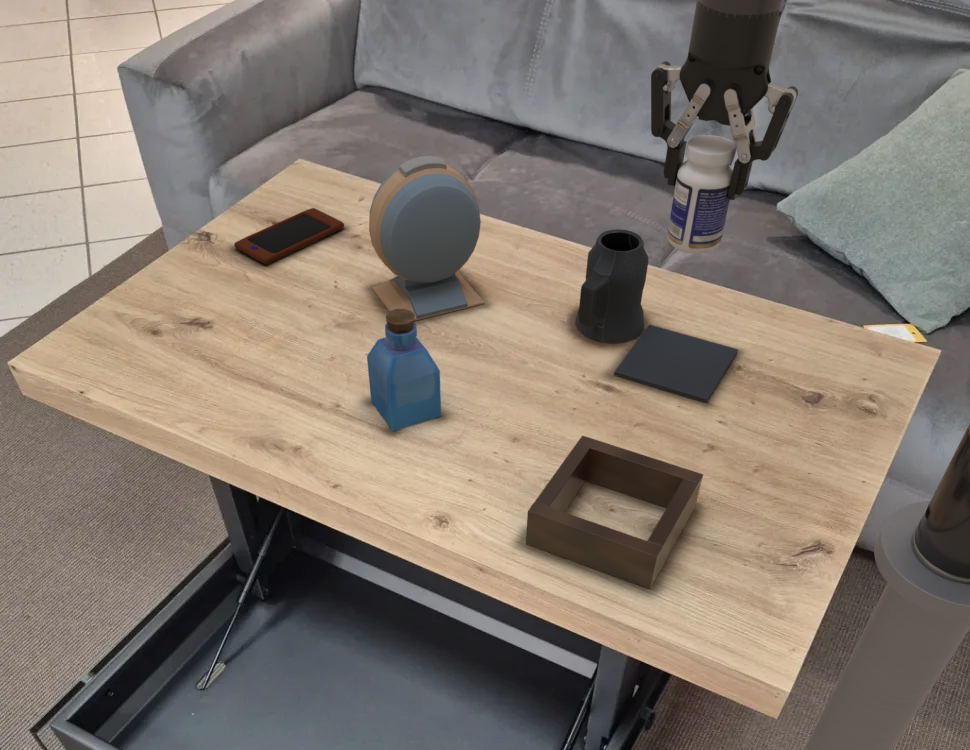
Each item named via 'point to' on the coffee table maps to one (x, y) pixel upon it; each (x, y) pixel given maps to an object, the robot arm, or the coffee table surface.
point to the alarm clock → (425, 237)
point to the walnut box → (602, 543)
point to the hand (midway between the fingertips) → (703, 188)
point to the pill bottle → (701, 195)
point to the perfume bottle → (403, 374)
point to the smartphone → (288, 235)
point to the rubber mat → (676, 363)
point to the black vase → (613, 288)
